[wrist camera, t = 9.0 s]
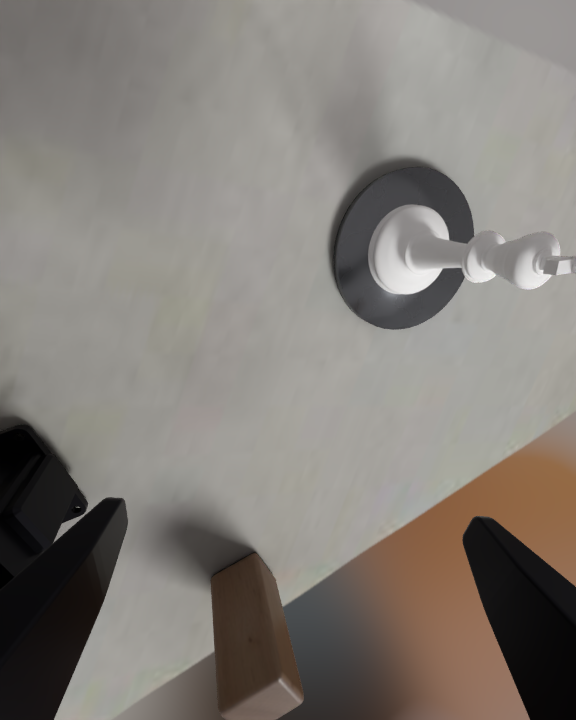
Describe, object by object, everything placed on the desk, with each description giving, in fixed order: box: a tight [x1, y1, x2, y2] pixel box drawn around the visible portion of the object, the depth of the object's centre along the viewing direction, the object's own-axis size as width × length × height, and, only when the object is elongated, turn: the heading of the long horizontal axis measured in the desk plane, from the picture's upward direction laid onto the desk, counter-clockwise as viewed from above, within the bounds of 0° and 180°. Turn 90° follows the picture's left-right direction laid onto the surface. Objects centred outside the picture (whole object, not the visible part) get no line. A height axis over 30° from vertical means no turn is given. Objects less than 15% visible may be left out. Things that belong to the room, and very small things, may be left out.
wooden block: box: [211, 553, 303, 720], centre depth 22 cm, size 4×4×8 cm
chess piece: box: [368, 204, 576, 294], centre depth 14 cm, size 5×5×10 cm
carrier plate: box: [334, 167, 474, 329], centre depth 19 cm, size 9×9×1 cm
